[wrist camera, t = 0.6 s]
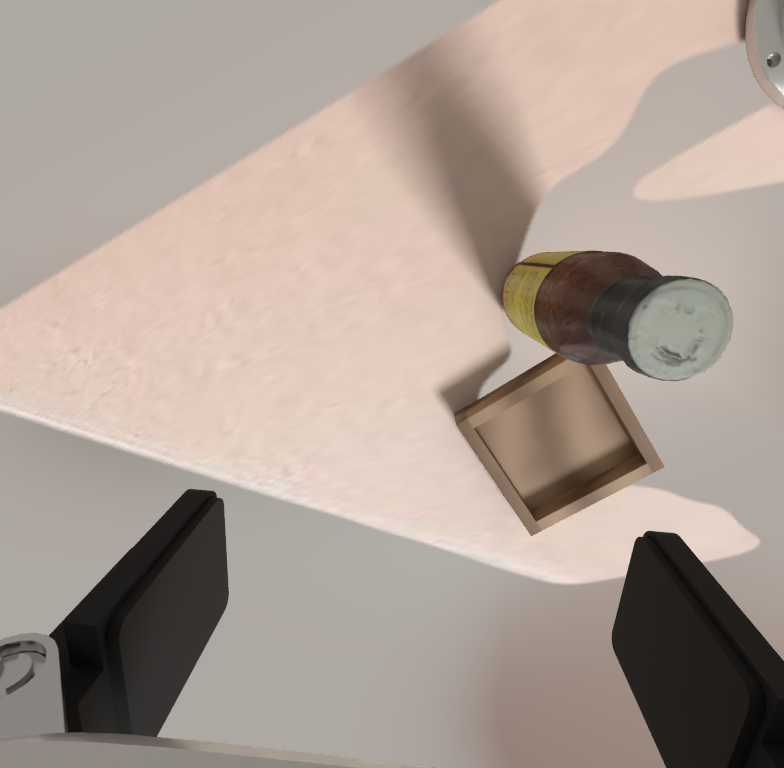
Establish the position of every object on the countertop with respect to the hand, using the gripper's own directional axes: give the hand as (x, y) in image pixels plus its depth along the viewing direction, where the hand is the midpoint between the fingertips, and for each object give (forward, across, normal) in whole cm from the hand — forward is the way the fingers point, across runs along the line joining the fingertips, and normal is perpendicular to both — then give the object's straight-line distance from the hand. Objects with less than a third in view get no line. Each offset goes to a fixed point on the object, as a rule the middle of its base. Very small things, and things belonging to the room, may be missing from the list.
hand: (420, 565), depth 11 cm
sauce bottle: (+29, -9, -3) cm, 31 cm away
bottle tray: (+29, -11, +8) cm, 32 cm away
